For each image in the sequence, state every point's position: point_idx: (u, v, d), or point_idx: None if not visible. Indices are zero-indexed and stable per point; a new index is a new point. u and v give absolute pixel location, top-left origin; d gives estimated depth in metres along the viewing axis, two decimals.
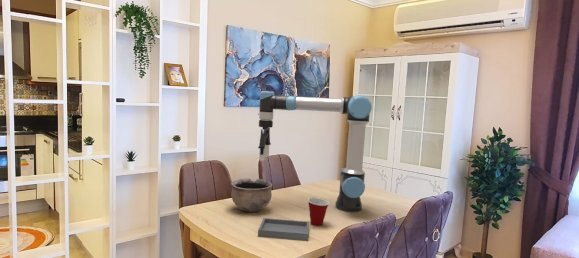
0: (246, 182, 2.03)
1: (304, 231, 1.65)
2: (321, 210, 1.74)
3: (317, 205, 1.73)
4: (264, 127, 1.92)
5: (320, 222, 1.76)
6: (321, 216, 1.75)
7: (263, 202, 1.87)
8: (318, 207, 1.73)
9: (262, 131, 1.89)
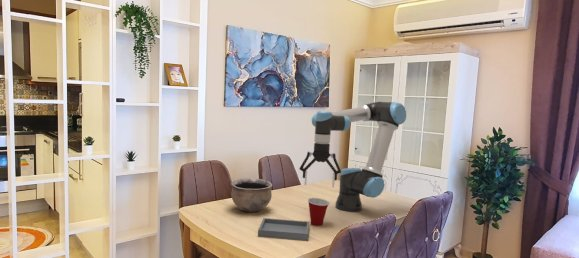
0: (246, 182, 2.03)
1: (304, 231, 1.65)
2: (321, 210, 1.74)
3: (317, 205, 1.73)
4: None
5: (320, 222, 1.76)
6: (321, 216, 1.75)
7: (263, 202, 1.87)
8: (318, 207, 1.73)
9: (307, 153, 1.76)
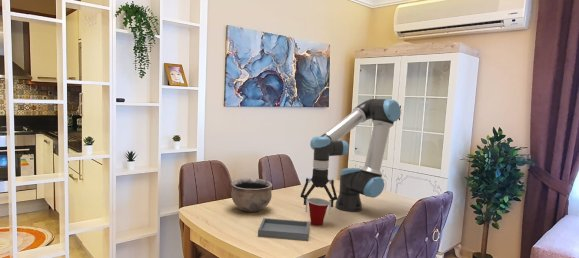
0: (246, 182, 2.03)
1: (304, 231, 1.65)
2: (321, 210, 1.74)
3: (317, 205, 1.73)
4: None
5: (320, 222, 1.76)
6: (321, 216, 1.75)
7: (263, 202, 1.87)
8: (318, 207, 1.73)
9: None
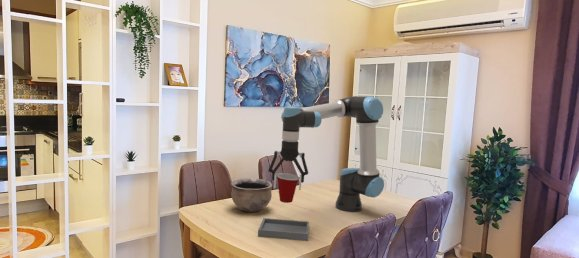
0: (246, 182, 2.03)
1: (304, 231, 1.65)
2: (290, 185, 1.60)
3: (285, 180, 1.59)
4: None
5: (289, 198, 1.62)
6: (290, 192, 1.61)
7: (263, 202, 1.87)
8: (287, 182, 1.59)
9: None
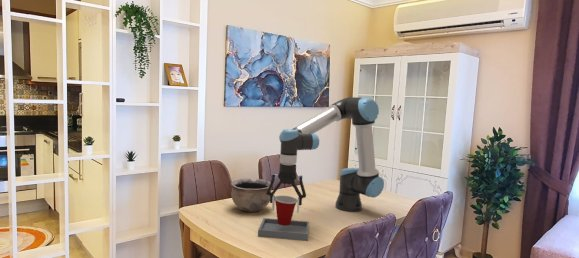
0: (246, 182, 2.03)
1: (304, 231, 1.65)
2: (288, 208, 1.61)
3: (283, 203, 1.60)
4: None
5: (287, 221, 1.63)
6: (288, 215, 1.62)
7: (263, 202, 1.87)
8: (285, 205, 1.60)
9: None
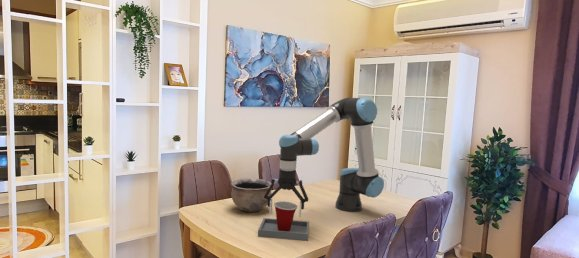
0: (246, 182, 2.03)
1: (304, 231, 1.65)
2: (287, 215, 1.61)
3: (283, 210, 1.60)
4: (279, 177, 1.64)
5: (287, 228, 1.63)
6: (288, 221, 1.62)
7: (263, 202, 1.87)
8: (284, 211, 1.60)
9: None
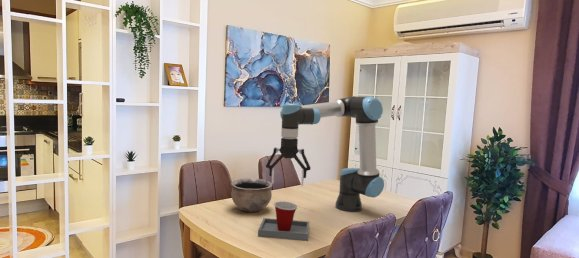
0: (246, 182, 2.03)
1: (304, 231, 1.65)
2: (287, 215, 1.61)
3: (283, 210, 1.60)
4: None
5: (287, 228, 1.63)
6: (288, 221, 1.62)
7: (263, 202, 1.87)
8: (284, 211, 1.60)
9: None
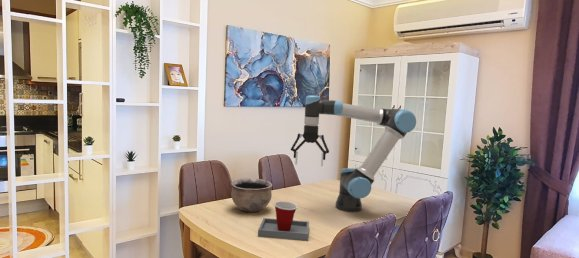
0: (246, 182, 2.03)
1: (304, 231, 1.65)
2: (288, 215, 1.61)
3: (283, 210, 1.60)
4: None
5: (287, 228, 1.63)
6: (288, 221, 1.62)
7: (263, 202, 1.87)
8: (284, 211, 1.60)
9: None
